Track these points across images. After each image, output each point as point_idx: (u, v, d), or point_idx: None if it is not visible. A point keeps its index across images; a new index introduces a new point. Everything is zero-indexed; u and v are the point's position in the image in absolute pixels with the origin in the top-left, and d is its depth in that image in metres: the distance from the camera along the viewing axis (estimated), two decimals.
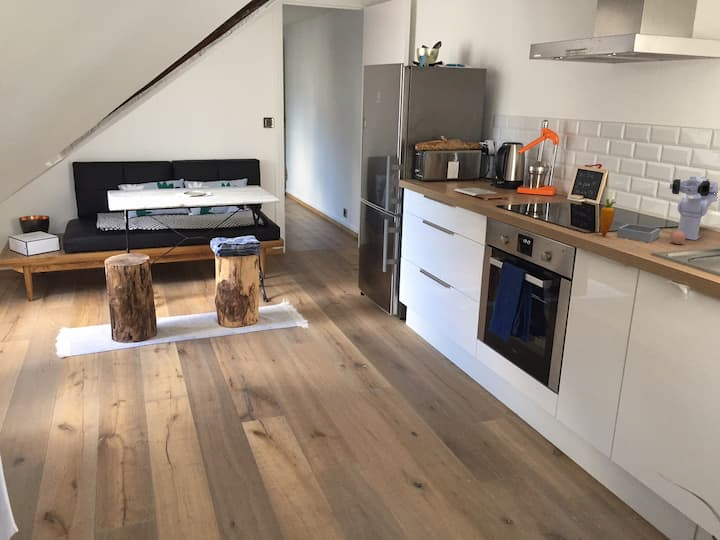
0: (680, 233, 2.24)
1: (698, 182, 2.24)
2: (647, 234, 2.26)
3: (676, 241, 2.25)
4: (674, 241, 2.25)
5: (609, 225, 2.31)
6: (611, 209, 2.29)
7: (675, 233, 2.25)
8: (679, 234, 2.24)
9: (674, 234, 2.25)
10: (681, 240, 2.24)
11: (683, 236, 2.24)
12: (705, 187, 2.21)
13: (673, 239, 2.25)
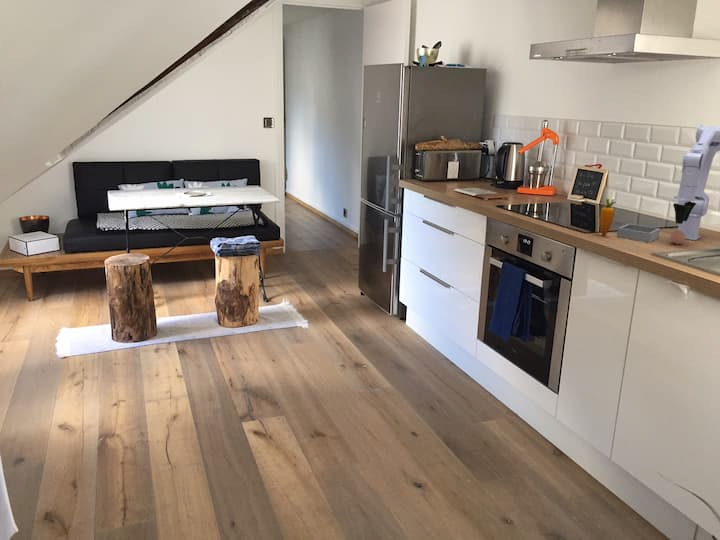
0: (680, 233, 2.24)
1: (678, 199, 2.22)
2: (647, 234, 2.26)
3: (676, 241, 2.25)
4: (674, 241, 2.25)
5: (609, 225, 2.31)
6: (611, 209, 2.29)
7: (675, 233, 2.25)
8: (679, 234, 2.24)
9: (674, 234, 2.25)
10: (681, 240, 2.24)
11: (683, 236, 2.24)
12: None
13: (673, 239, 2.25)
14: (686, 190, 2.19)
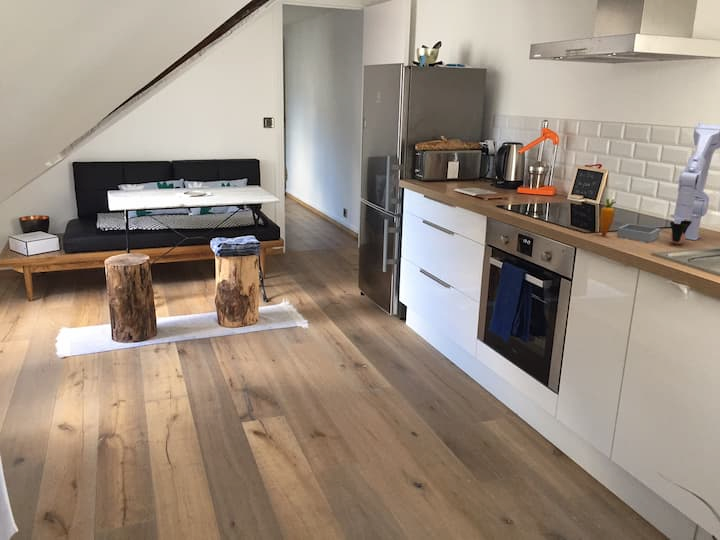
0: None
1: (674, 218, 2.24)
2: (647, 234, 2.26)
3: None
4: (674, 241, 2.25)
5: (609, 225, 2.31)
6: (611, 209, 2.29)
7: None
8: None
9: None
10: (681, 240, 2.24)
11: (683, 236, 2.24)
12: (677, 224, 2.22)
13: None
14: (682, 209, 2.21)
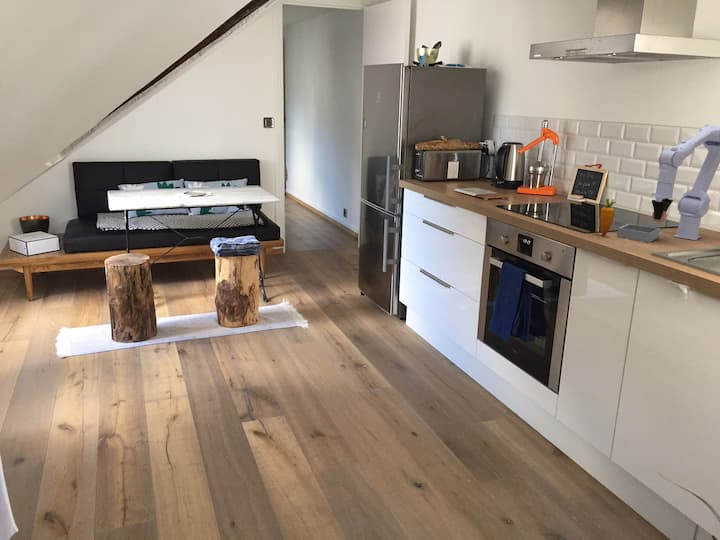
0: None
1: (656, 196, 2.26)
2: (647, 234, 2.26)
3: None
4: (656, 219, 2.28)
5: (609, 225, 2.31)
6: (611, 209, 2.29)
7: None
8: None
9: None
10: (662, 218, 2.27)
11: (664, 214, 2.26)
12: (658, 202, 2.24)
13: None
14: (663, 187, 2.23)
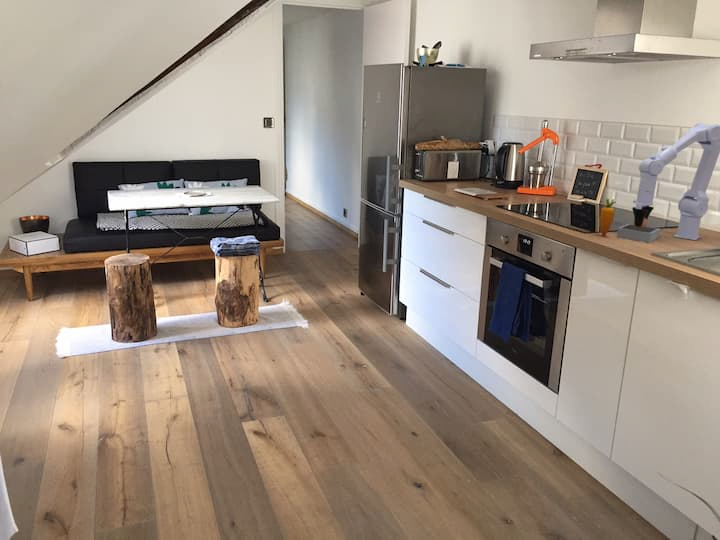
0: None
1: (637, 203, 2.31)
2: (647, 234, 2.26)
3: None
4: (636, 226, 2.33)
5: (609, 225, 2.31)
6: (611, 209, 2.29)
7: None
8: None
9: None
10: (643, 225, 2.31)
11: (645, 221, 2.31)
12: (638, 210, 2.29)
13: None
14: (644, 195, 2.28)
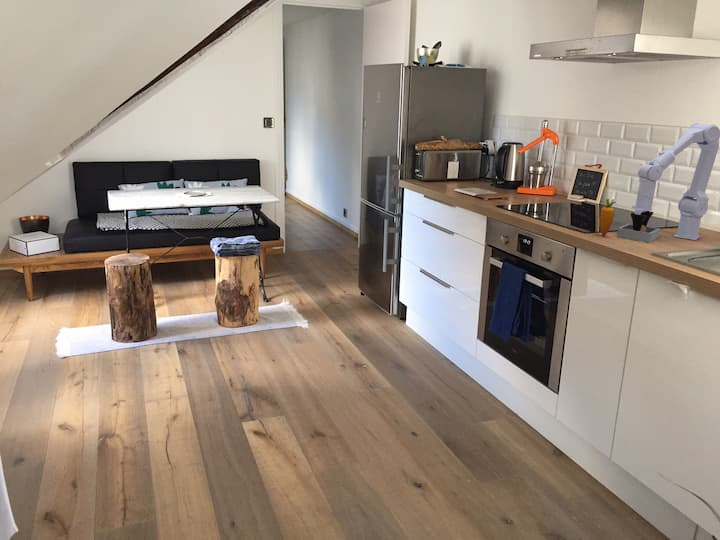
0: None
1: None
2: (647, 234, 2.26)
3: None
4: None
5: (609, 225, 2.31)
6: (611, 209, 2.29)
7: None
8: None
9: None
10: None
11: (643, 229, 2.32)
12: (637, 215, 2.29)
13: None
14: (643, 200, 2.29)
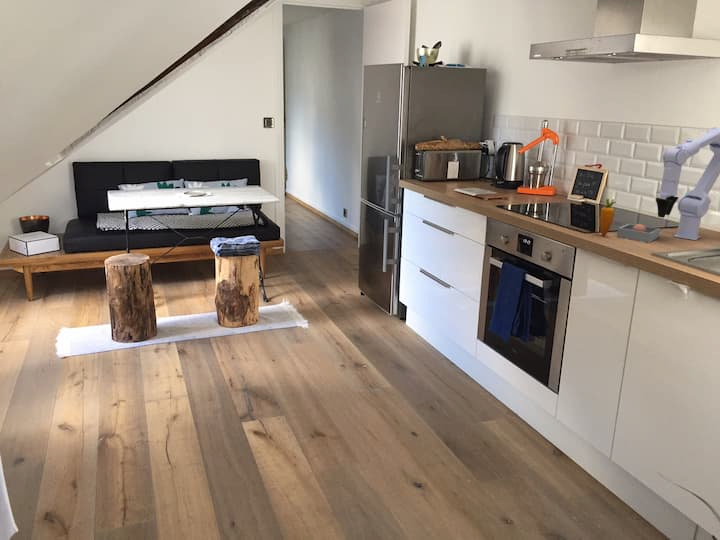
0: (641, 226, 2.32)
1: (660, 194, 2.28)
2: (647, 234, 2.26)
3: None
4: None
5: (609, 225, 2.31)
6: (611, 209, 2.29)
7: (636, 226, 2.33)
8: (639, 227, 2.32)
9: (635, 227, 2.33)
10: None
11: (643, 229, 2.32)
12: None
13: None
14: (668, 184, 2.25)
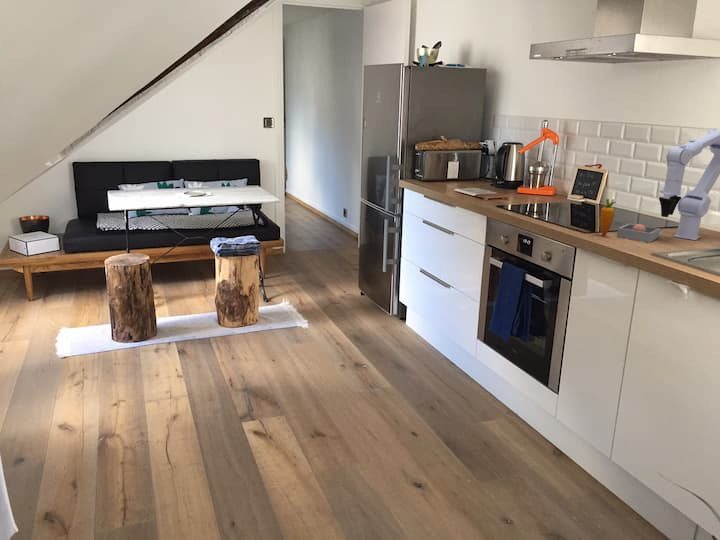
0: (640, 226, 2.32)
1: (664, 193, 2.28)
2: (647, 234, 2.26)
3: None
4: None
5: (609, 225, 2.31)
6: (611, 209, 2.29)
7: (636, 226, 2.33)
8: (639, 227, 2.32)
9: (635, 227, 2.33)
10: None
11: (643, 229, 2.32)
12: (665, 200, 2.26)
13: None
14: (671, 184, 2.25)
